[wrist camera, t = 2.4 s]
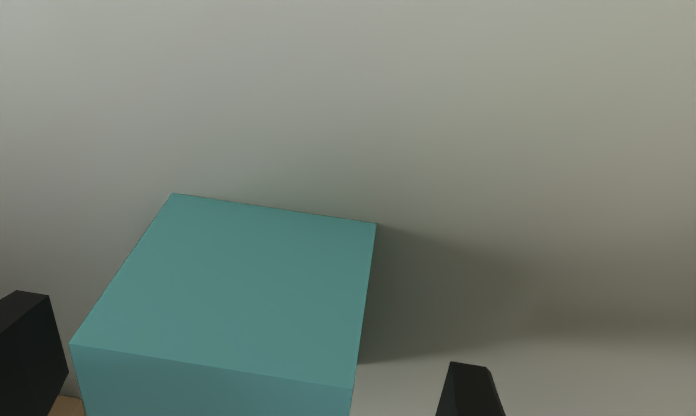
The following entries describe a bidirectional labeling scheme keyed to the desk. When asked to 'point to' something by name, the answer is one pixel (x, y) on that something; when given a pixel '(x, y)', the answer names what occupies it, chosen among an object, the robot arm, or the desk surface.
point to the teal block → (229, 315)
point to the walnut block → (67, 407)
